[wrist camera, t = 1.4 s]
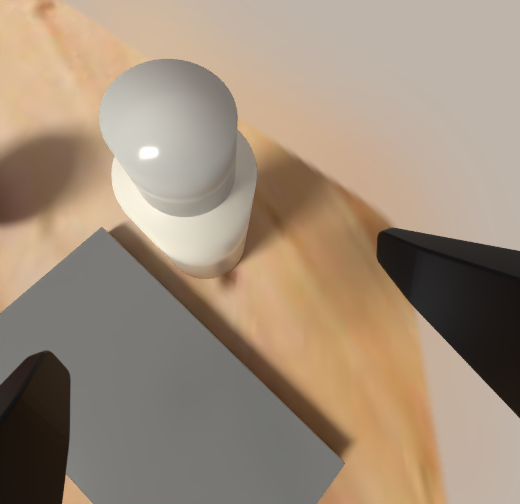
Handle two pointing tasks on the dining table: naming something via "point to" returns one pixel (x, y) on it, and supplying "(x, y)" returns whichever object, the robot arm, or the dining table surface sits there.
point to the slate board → (158, 392)
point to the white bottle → (181, 163)
